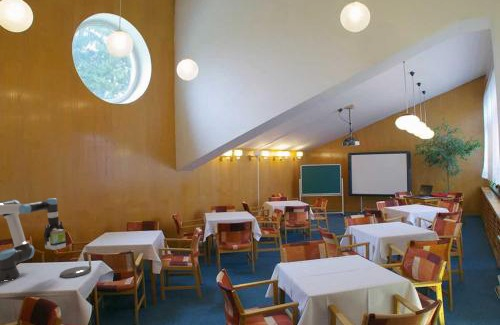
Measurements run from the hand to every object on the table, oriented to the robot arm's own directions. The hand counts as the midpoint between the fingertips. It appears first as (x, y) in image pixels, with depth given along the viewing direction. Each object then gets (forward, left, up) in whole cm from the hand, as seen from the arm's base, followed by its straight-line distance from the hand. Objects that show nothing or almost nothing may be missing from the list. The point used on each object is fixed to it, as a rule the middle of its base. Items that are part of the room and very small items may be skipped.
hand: (55, 243), depth 268 cm
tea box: (0, 0, -4) cm, 4 cm away
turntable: (+11, +8, -27) cm, 30 cm away
